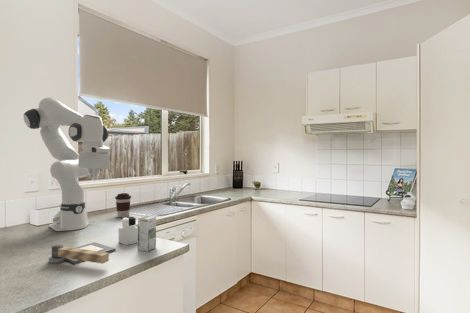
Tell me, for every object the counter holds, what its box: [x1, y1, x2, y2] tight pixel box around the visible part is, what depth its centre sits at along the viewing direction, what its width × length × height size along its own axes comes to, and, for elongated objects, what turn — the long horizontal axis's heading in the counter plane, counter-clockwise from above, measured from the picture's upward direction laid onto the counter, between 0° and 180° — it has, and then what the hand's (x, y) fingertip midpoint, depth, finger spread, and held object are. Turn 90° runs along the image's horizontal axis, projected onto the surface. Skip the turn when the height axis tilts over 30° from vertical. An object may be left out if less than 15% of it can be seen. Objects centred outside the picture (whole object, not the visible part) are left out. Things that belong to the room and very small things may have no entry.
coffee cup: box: [114, 192, 132, 218], centre depth 197 cm, size 10×10×15 cm
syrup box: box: [137, 215, 157, 252], centre depth 132 cm, size 6×6×14 cm
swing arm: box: [51, 243, 110, 265], centre depth 114 cm, size 26×4×4 cm, turn 71°
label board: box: [48, 241, 117, 265], centre depth 124 cm, size 16×23×2 cm
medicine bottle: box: [118, 216, 138, 246], centre depth 141 cm, size 7×7×12 cm
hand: (93, 178), depth 139 cm, fingers closed
